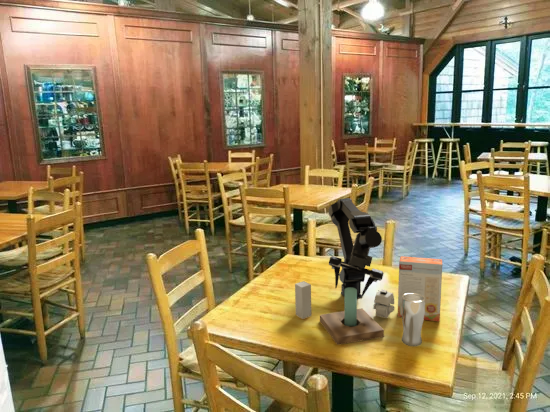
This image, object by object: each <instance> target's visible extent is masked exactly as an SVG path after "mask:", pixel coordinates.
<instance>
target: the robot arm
mask: <svg viewBox="0 0 550 412" xmlns="http://www.w3.org/2000/svg"><path fill="white" fill-rule="evenodd" d="M328 216H329V218H330V220H331V222H332V223H333V224H334V226H336V228H337V232H338V233H337V234H338V237H339V242H340V246H341V251H342V254H343V258H342V257H341V258H339V257H337V256H334V255H331V256H330V257H329V260H328V266H331V269H332V270H334V276H335V277H334V279H335V283H334V284H335V289H337V288H338V285H339V280H340V282H341V286H340V287H341V291H340V294H341V295H342V296H343V297H344V298H345V288H355V289H357V299H360V298H363V297H364V296H365V294H366V292H367V291H368V289H369V287H370V286H371V285H372V283H373V282H375V283H377V282H378V281H382V280H383V277H384V272H383V270H380V269H377V268H372V269H368V268H366V267H369V268H370V267H371V264H372V261H373V256H370V255H369V254H370V253H369V252H370V250H371V249H373V248H376V247H379V246H380V245H381V243H382V239H383V238H382V237H383V236H382V235H381V233H380V232H379V231H378V228H377V227H378V226H377V225H376V222H374V220H373V217H372V216H371V215H370V214H369V213H367V212H365V211H361V210H360V209H359V208H358V207H357V206H356V205H355V204H354V203H353V200H352V198H348V197H347V198H346V197H345V198H340V199H339V198H338V200H337V201H336V202H333V203H332V204H330V207H329V208H328ZM351 230H352V232H353V233H354V234H356V235H355V240H354V242H353V238H352V234H351ZM342 260H343V261H342ZM366 275H367V276H369V277H368V278H367V280H366V283H365V286H364V288H363V290H362V292H361V289H362V288H361V283H364V282H365V278H366Z"/></svg>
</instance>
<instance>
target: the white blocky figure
mask: <svg viewBox="0 0 550 412" xmlns="http://www.w3.org/2000/svg"><path fill="white" fill-rule="evenodd" d="M394 305H395V296H394V293H393V292H390V291H388V290H385V289H381V290H377V292H376V294H375V297H374V304H373V309H374V310H375V315H376V317H381V318H384V319H387V318H389V316H390V315H391V313H392V312H394V311H395V306H394Z"/></svg>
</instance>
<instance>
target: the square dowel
mask: <svg viewBox="0 0 550 412" xmlns="http://www.w3.org/2000/svg"><path fill="white" fill-rule="evenodd" d="M294 291H295V292H294V294H295V295H294V297H295V299H294V300H295V305H294V306H295V315H296V316H297V317H298V318H300V319H302V320H304V319H307V318H309V317H312V284H310V283H308V282H306V280H305V281H304V280H303V281H300V282H297V283H294Z"/></svg>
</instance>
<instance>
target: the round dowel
mask: <svg viewBox="0 0 550 412" xmlns="http://www.w3.org/2000/svg"><path fill="white" fill-rule="evenodd" d="M357 305H358V298H357V289H355V288H345V297H344V310H343V311H344V325H345V326H349V327H353V326H357V309H358V306H357Z"/></svg>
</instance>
